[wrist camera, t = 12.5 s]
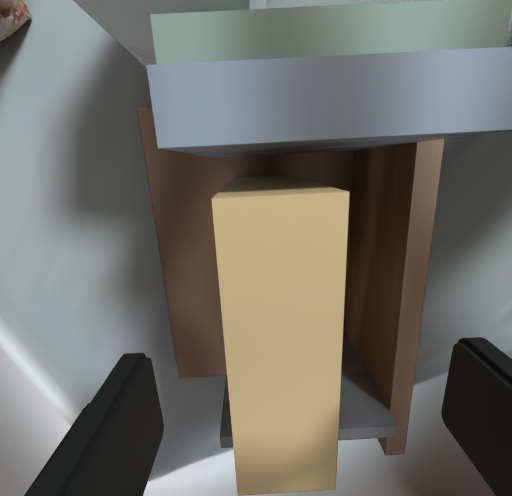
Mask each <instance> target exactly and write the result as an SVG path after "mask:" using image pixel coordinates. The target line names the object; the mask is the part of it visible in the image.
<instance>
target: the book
mask: <svg viewBox="0 0 512 496" xmlns="http://www.w3.org/2000/svg"><path fill="white" fill-rule="evenodd" d="M349 193H350V192H348V191H345V190H341V189H338V188H334V187H330V186H327V185H323V184H319V183H316V182H312V181H309V180H305V179H301V178H298V177H294V176H291V175H278V176H257V177H236V178H233V179H232V180H231V181H230V182H228V183H227V184H226V185H225V186H224V187H223V188H222V189H221V190H220V191H219V192H218V193H217V194H216V195H215V196H214V197H213V198H211V200H212V211H213V222H214V233H215V244H216V256H217V267H218V278H219V289H220V301H221V312H222V323H223V334H224V346H225V357H226V368H227V379H228V391H229V402H230V413H231V424H232V436H233V447H234V457H235V468H236V479H237V492H238V495H254V494H270V493H287V492H303V491H319V490H335V489H336V471H337V450H338V429H339V407H340V386H341V364H342V343H343V322H344V300H345V279H346V257H347V236H348V214H349Z"/></svg>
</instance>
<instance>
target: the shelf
mask: <svg viewBox="0 0 512 496" xmlns="http://www.w3.org/2000/svg"><path fill="white" fill-rule="evenodd" d="M511 8H512V0H437V1H416V2H395V3H375V4H354V5H333V6H313V7H292V8H271V9H251V10H230V11H210V12H189V13H168V14H150V18H151V26H152V33H153V41H154V49H155V56H156V65H146V67H147V74H148V81H149V88H150V95H151V102H152V106H150V107H137V108H138V115H139V121H140V128H141V134H142V141H143V147H144V154H145V160H146V167H147V173H148V180H149V186H150V192H151V199H152V205H153V212H154V218H155V225H156V231H157V238H158V244H159V251H160V257H161V264H162V270H163V277H164V283H165V290H166V296H167V303H168V309H169V316H170V322H171V329H172V335H173V342H174V348H175V355H176V361H177V368H178V374H179V378H189V377H206V376H222V375H226V383H225V393H224V402H223V412H222V421H221V431H220V443H221V448H227V447H233V436H232V424H231V413H230V402H229V391H228V379H227V368H226V357H225V346H224V334H223V323H222V312H221V301H220V289H219V278H218V267H217V256H216V244H215V233H214V222H213V211H212V200H211V198H213V197H214V196H215V195H216V194H217V193H218V192H219V191H220V190H221V189H222V188H223V187H224V186H225V185H226V184H227V183H228V182H230V181H231V180H232V179H233V178H236V177H257V176H278V175H291V176H294V177H298V178H301V179H305V180H309V181H312V182H316V183H319V184H323V185H327V186H330V187H334V188H338V189H341V190H345V191H348V192H350V193H349V214H348V236H347V257H346V279H345V300H344V322H343V343H342V364H341V386H340V407H339V429H338V440H353V439H369V438H378V440H379V443H380V444H381V447H382V449H383V451H384V453H385V455H397V454H404V453H405V446H406V438H407V430H408V422H409V414H410V406H411V398H412V390H413V383H414V375H415V367H416V359H417V351H418V344H419V336H420V328H421V320H422V312H423V304H424V296H425V288H426V280H427V273H428V265H429V257H430V249H431V241H432V233H433V225H434V217H435V209H436V202H437V194H438V186H439V178H440V170H441V162H442V154H443V146H444V139H446V138H454V137H462V136H470V135H477V134H485V133H493V132H501V131H509V130H512V47H505V44H506V38H507V32H508V26H509V20H510V14H511Z"/></svg>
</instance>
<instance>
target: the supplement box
mask: <svg viewBox="0 0 512 496" xmlns="http://www.w3.org/2000/svg"><path fill="white" fill-rule="evenodd" d="M73 1H74V2H75V3H77V4H78V5H79V6H80V7H81V8H82V9H83V10H84V11H85V12H86V13H87V14H88V15H89V16H91V17H92V18H93V19H94V20H95V21H96V22H97V23H98V24H99V25H100V26H101V27H103V28H104V29H105V30H106V31H107V32H108V33H109V34H110V35H111V36H112V37H114V38H115V39H116V40H117V41H118V42H119V43H120V44H121V45H122V46H123V47H124V48H125V49H126V50H128V51H129V52H130V53H131V54H132V55H133V56H134V57H135V58H136V59H137V60H138V61H139V62H140V63H141V64H143V65H144V66H145V67H146V65H156V56H155V49H154V41H153V33H152V26H151V18H150V14H168V13H189V12H210V11H230V10H251V9H266V3H267V0H73ZM146 68H147V67H146Z"/></svg>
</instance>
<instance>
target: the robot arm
mask: <svg viewBox="0 0 512 496" xmlns="http://www.w3.org/2000/svg"><path fill="white" fill-rule="evenodd" d="M442 418H443V421H444V423H445V425H446V427H447V428H448V429H449V431H450V432H451V433H452V435H453V436H454V438H455V439H456V441H457V442H458V443H459V445H460V446H461V447H462V449H463V450H464V452H465V453H466V454H467V456H468V457H469V459H470V460H471V462H472V463H473V464H474V466H475V467H476V469H477V470H478V471H479V472H480V474H481V475H482V477H483V478H484V480H485V481H486V483H487V484H488V485H489V487H490V488H491V490H492V491H493V492H494V494H495V495H496V496H512V359H511V358H509V357H508V356H507V355H506V354H504V353H503V352H502V351H500V350H499V349H498V348H497V347H495V346H494V345H493V344H492V343H490V342H489V341H488V340H486V339H484V338H481V337H477V338H462V339H460V340H459V341H458V343H457V344H455V345H454V346H453V351H452V356H451V362H450V367H449V373H448V379H447V384H446V390H445V395H444V401H443V406H442ZM163 429H164V424H163V418H162V413H161V408H160V403H159V398H158V392H157V387H156V382H155V377H154V371H153V366H152V361H151V359H150V358H146V356H145V354H144V353H129V354H123V356H122V357H121V358H120V360H119V361H118V363H117V364H116V365H115V367H114V368H113V370H112V371H111V373H110V374H109V376H108V377H107V379H106V380H105V382H104V383H103V385H102V386H101V388H100V389H99V391H98V392H97V394H96V395H95V397H94V398H93V400H92V401H91V403H89V404H87V406H86V407H85V408H84V409H83V411H82V412H81V413H80V415H79V416H78V418H77V419H76V421H75V422H74V424H73V425H72V427H71V428H70V430H69V431H68V432H67V434H66V435H65V437H64V438H63V440H62V441H61V443H60V444H59V446H58V447H57V449H56V450H55V452H54V453H53V454H52V456H51V457H50V459H49V460H48V462H47V463H46V465H45V466H44V468H43V469H42V470H41V472H40V474H39V475H38V476H37V478H36V479H35V481H34V482H33V484H32V485H31V487H30V488H29V489H28V491H27V492H26V494H25V495H24V496H143V493H144V490H145V487H146V484H147V481H148V478H149V475H150V472H151V469H152V466H153V463H154V460H155V457H156V454H157V451H158V448H159V445H160V442H161V439H162V436H163Z"/></svg>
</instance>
